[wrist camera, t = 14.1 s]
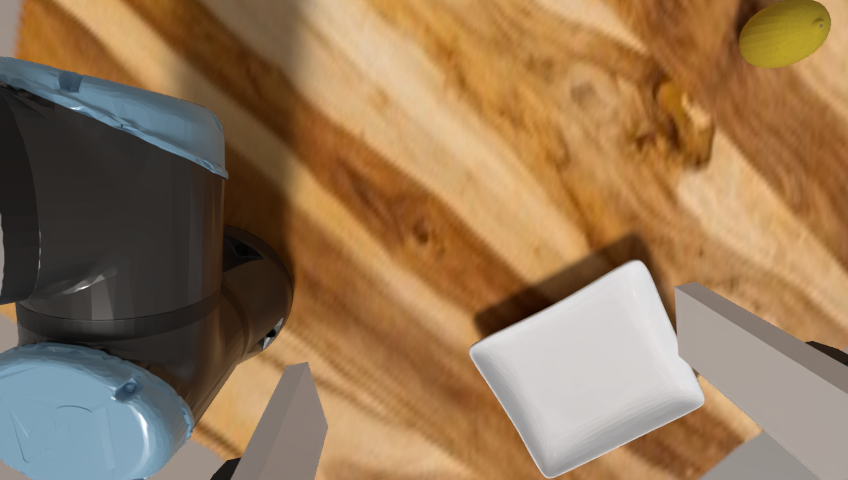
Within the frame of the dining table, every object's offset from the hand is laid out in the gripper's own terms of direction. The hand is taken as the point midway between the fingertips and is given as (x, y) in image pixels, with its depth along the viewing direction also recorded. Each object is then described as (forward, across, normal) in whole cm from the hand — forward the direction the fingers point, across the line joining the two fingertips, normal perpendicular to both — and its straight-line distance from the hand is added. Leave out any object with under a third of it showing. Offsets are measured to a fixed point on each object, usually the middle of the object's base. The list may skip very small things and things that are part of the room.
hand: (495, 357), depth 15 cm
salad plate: (+32, +13, -23) cm, 42 cm away
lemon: (+32, +33, +9) cm, 47 cm away
